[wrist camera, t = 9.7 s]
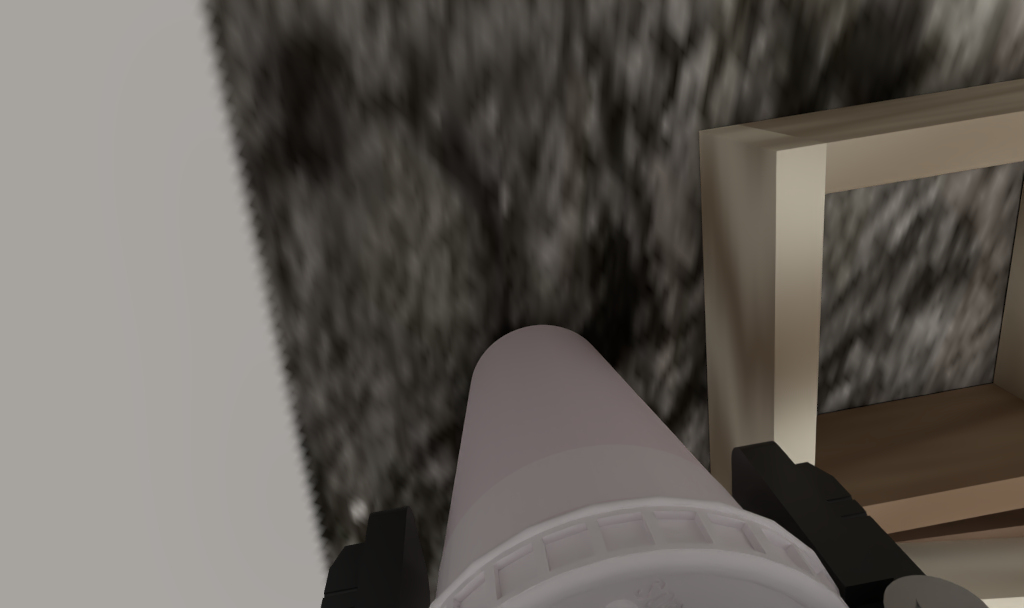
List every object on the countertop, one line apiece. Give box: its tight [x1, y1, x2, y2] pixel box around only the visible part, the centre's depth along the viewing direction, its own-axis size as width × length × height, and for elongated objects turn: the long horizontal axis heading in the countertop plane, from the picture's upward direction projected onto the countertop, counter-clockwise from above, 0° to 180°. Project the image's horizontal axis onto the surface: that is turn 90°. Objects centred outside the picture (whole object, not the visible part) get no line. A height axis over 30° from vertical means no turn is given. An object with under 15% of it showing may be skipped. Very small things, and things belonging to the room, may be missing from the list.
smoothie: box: [429, 325, 849, 608], centre depth 11 cm, size 6×6×14 cm
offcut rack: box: [699, 79, 1024, 534], centre depth 18 cm, size 22×10×4 cm, turn 8°
